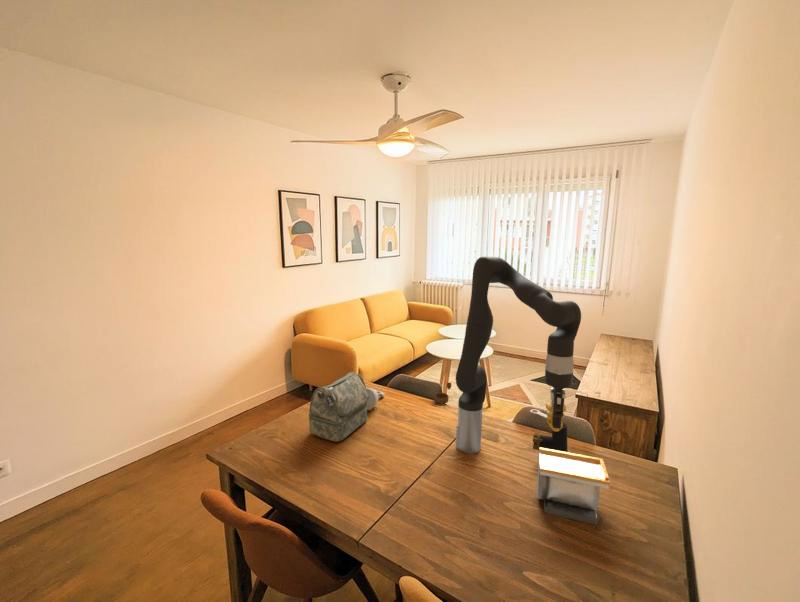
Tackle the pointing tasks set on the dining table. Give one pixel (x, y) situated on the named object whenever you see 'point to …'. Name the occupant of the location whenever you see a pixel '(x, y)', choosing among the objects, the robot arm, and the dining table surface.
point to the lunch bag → (339, 408)
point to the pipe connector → (552, 440)
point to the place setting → (442, 396)
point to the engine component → (373, 397)
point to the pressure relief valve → (550, 415)
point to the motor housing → (570, 484)
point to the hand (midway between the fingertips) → (555, 422)
